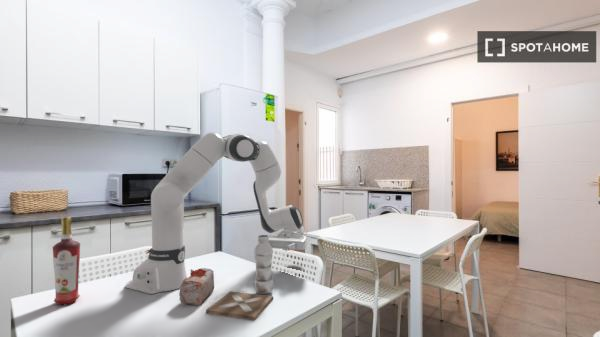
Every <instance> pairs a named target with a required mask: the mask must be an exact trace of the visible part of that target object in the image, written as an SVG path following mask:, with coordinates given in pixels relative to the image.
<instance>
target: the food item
mask: <svg viewBox="0 0 600 337" xmlns="http://www.w3.org/2000/svg"><path fill="white" fill-rule="evenodd" d="M214 279H215V277H214V270H212V269H211V268H207V267H202V268H198V269H195V270H194V269H190V276H187V277H186V278H185V279H184V280H183V282H182V284H181V286H180V287H179V288H178V289H179V301H180V302H181V303H183V304H186V305H190V306H191V305H192V306H201V305H202V303H203V302H204V301H205V300H206V299H207V298H208V297H209V295H210V294H211V293H213V291H214V289H215V280H214Z"/></svg>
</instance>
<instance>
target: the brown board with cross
mask: <svg viewBox="0 0 600 337" xmlns="http://www.w3.org/2000/svg"><path fill="white" fill-rule="evenodd" d="M273 300H274V296H273V295H268V294H258V293H248V292H239V291H228V292H227V293H225V295H223V296H222V297H221V298H219V299H218V300H217V301H215V302H214V303H213V304H211V306H209V307H207V309H206V310H205V313H206V314H209V315H216V316H224V317H231V318H232V317H233V318H237V319H245V320H252V321H254V320H256V319H258V317H259V316H260V315H261V314H262V313H263V311H264V310H265V309H266V308H267V307H268V306H269V304H271V302H272V301H273Z"/></svg>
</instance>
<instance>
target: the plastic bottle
mask: <svg viewBox="0 0 600 337" xmlns="http://www.w3.org/2000/svg"><path fill="white" fill-rule="evenodd" d="M269 236H270V235H267V234H261V235H258V236H257V245H256V246H255V248H254V250H253V256H254V261H255V280H254V291H255V292H256V294H259V295H268V294H271V293H272V292H273V290H274V280H273V275H272V274H273V273H272V264H273V262H272V261H273V252H274V250H273V248H272V247H271V246H270V244H269V243H268V242H269ZM258 242H259V243H258Z"/></svg>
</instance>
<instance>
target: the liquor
mask: <svg viewBox="0 0 600 337" xmlns="http://www.w3.org/2000/svg"><path fill="white" fill-rule="evenodd" d="M60 221H61V226H62V227H61V238H60V241H59V242H57V243H55V244H54V245H53V246H52V258H53V272H54V286H55V289H54V290H55V298H54V300H53V302H54V303H56V304H58V305H59V304H60V306H65V305H64V304H67V305H71V304H73V303H75V302H76V301H77V300H78V299H79V298H80V297H81V295H80V294H79V278H80V277H79V273H80V258H81V257H80V255H81V243H80V242H79V241H77V240H74V239H73V235H72V229H71V228H72V227H71V226H72V217H71V216H63V217H61V220H60ZM70 303H71V304H70Z"/></svg>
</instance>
